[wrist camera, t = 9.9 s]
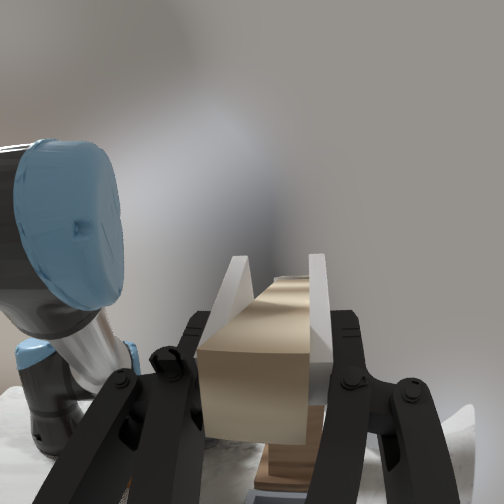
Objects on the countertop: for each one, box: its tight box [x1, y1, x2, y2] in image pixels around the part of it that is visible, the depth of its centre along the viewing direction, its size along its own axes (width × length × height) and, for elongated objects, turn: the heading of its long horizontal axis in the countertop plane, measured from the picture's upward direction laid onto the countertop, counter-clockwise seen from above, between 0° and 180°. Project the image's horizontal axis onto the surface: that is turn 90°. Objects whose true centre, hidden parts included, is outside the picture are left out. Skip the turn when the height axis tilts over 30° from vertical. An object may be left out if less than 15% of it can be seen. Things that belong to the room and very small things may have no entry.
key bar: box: [196, 276, 310, 445], centre depth 19 cm, size 24×4×3 cm, turn 169°
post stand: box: [254, 405, 324, 491], centre depth 41 cm, size 16×12×29 cm
